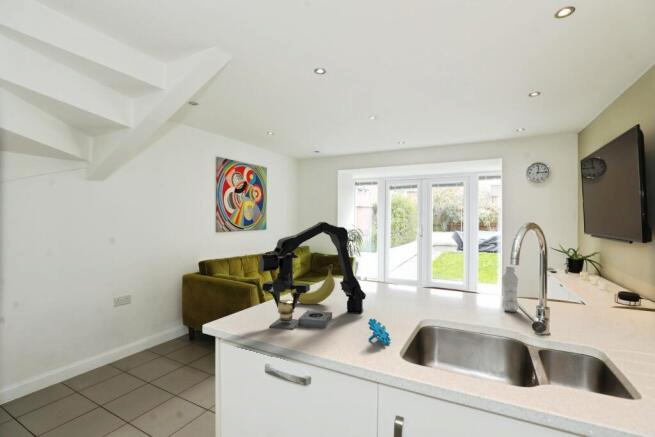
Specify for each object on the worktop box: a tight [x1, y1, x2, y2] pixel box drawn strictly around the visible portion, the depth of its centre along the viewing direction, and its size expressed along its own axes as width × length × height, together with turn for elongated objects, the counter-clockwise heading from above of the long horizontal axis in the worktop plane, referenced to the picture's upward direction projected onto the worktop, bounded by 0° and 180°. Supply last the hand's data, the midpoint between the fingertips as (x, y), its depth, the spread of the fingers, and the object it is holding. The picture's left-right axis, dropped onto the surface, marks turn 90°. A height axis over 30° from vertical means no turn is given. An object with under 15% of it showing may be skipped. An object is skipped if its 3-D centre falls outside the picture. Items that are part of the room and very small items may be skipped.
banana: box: [290, 263, 336, 305], centre depth 155 cm, size 23×6×20 cm, turn 81°
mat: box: [268, 317, 299, 331], centre depth 125 cm, size 10×10×1 cm
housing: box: [297, 310, 333, 329], centre depth 127 cm, size 11×11×3 cm
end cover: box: [277, 299, 295, 322], centre depth 125 cm, size 6×6×7 cm
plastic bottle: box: [501, 266, 519, 313], centre depth 142 cm, size 6×7×20 cm
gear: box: [367, 318, 391, 345], centre depth 108 cm, size 11×6×10 cm
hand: (286, 308), depth 125 cm, fingers closed on end cover, 6 cm apart
